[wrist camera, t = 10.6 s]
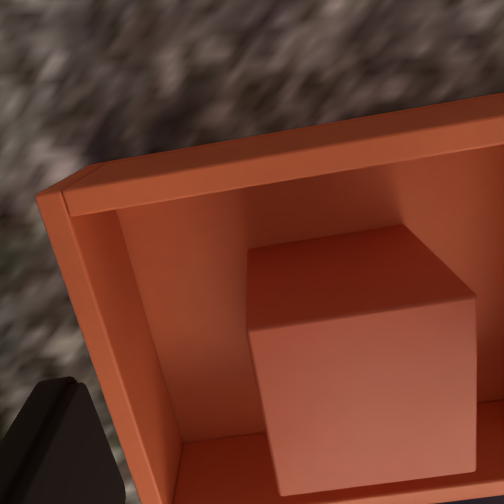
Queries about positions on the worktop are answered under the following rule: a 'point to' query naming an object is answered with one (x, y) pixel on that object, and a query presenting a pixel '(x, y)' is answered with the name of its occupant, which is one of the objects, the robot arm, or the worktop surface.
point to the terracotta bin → (235, 282)
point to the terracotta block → (362, 360)
